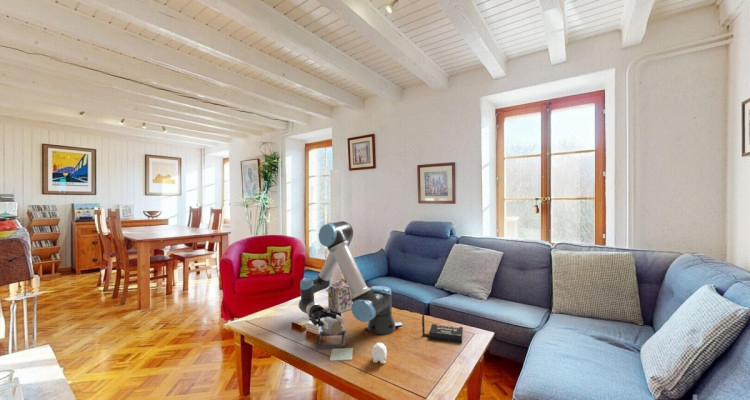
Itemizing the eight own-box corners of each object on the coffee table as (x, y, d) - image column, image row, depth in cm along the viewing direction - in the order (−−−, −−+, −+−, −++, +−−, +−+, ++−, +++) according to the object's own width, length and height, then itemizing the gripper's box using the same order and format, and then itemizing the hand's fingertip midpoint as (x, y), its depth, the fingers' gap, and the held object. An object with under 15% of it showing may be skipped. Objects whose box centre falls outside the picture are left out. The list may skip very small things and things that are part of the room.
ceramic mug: (332, 338, 155) (332, 322, 155) (321, 334, 160) (320, 319, 160) (347, 330, 163) (346, 316, 163) (335, 327, 168) (335, 312, 168)
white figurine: (370, 345, 137) (376, 335, 149) (370, 365, 137) (376, 353, 148) (384, 346, 136) (389, 336, 147) (384, 366, 135) (389, 355, 147)
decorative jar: (343, 304, 212) (342, 277, 211) (353, 309, 203) (352, 281, 202) (327, 308, 204) (326, 281, 204) (337, 314, 195) (336, 285, 195)
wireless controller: (463, 333, 167) (462, 301, 166) (461, 345, 153) (461, 310, 153) (425, 328, 173) (424, 297, 172) (421, 340, 160) (420, 307, 159)
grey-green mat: (352, 348, 152) (352, 348, 152) (352, 360, 142) (352, 359, 142) (332, 349, 151) (332, 348, 151) (329, 360, 141) (329, 360, 141)
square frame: (346, 333, 169) (346, 330, 169) (344, 348, 153) (344, 345, 153) (320, 334, 168) (320, 331, 168) (315, 349, 152) (315, 346, 152)
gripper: (332, 312, 181) (353, 325, 163) (297, 322, 168) (316, 337, 150) (331, 299, 181) (353, 311, 163) (297, 309, 168) (316, 322, 150)
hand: (335, 323), depth 156 cm, fingers closed on ceramic mug, 8 cm apart
